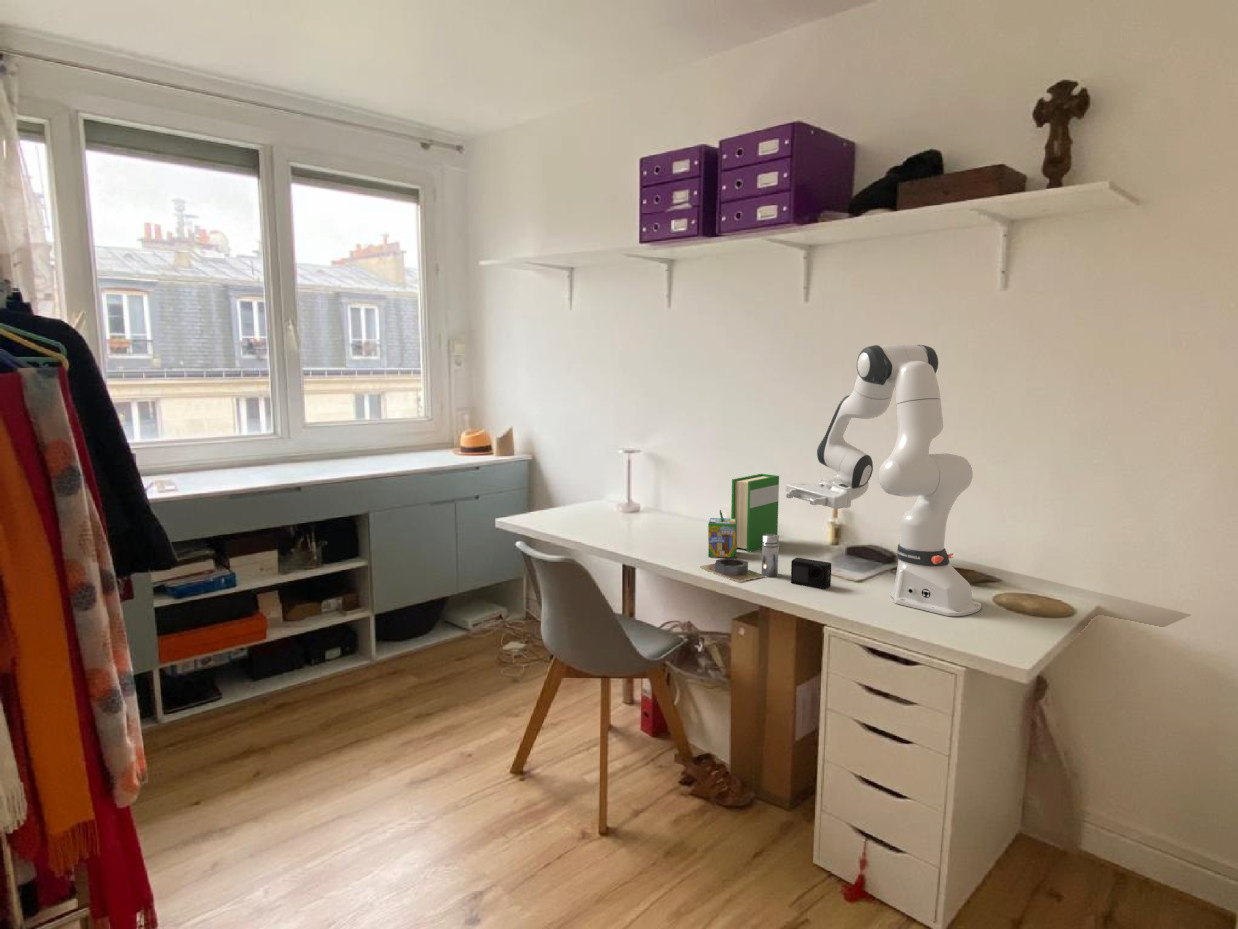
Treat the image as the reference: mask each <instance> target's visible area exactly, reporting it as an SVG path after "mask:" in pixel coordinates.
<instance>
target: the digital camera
mask: <svg viewBox="0 0 1238 929" xmlns="http://www.w3.org/2000/svg"><path fill="white" fill-rule="evenodd" d="M790 566H791V567H790V568H791V569H790V584H791V583H792V585H797V586H802V585H803V586H802V587H808V588H813V589H819V590H827V589H828V588H830V587H831V586H832V585H831V584H832V583H831V582H832V562H828V561H822V560H817V559H816V560H815V559H809V558H802V557H795V558H793V559H792V560H791V564H790Z"/></svg>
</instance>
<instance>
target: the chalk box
mask: <svg viewBox="0 0 1238 929" xmlns="http://www.w3.org/2000/svg"><path fill="white" fill-rule="evenodd" d="M719 515H720V516H719V518H718V517H716V518H715V517H710V519H709V521H708V526H707V531H708V535H707V536H708V553H707V557H708V558H731V559H737V549H738V547H737V519H731V518H727V517H724V516H723V512H722V510H721V509H719Z"/></svg>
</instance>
